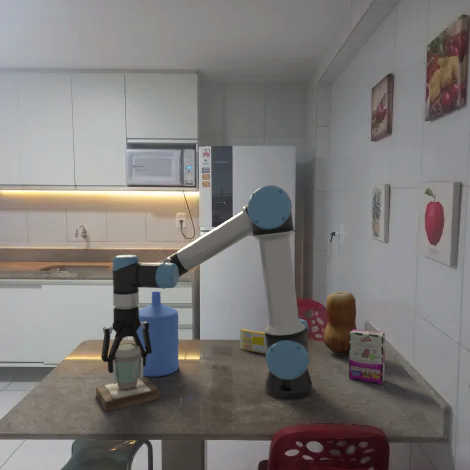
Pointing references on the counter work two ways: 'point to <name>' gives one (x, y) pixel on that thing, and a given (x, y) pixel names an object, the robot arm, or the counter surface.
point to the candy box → (253, 341)
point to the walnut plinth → (126, 394)
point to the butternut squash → (339, 321)
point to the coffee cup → (127, 365)
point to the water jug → (160, 337)
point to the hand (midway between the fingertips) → (127, 379)
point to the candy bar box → (367, 356)
